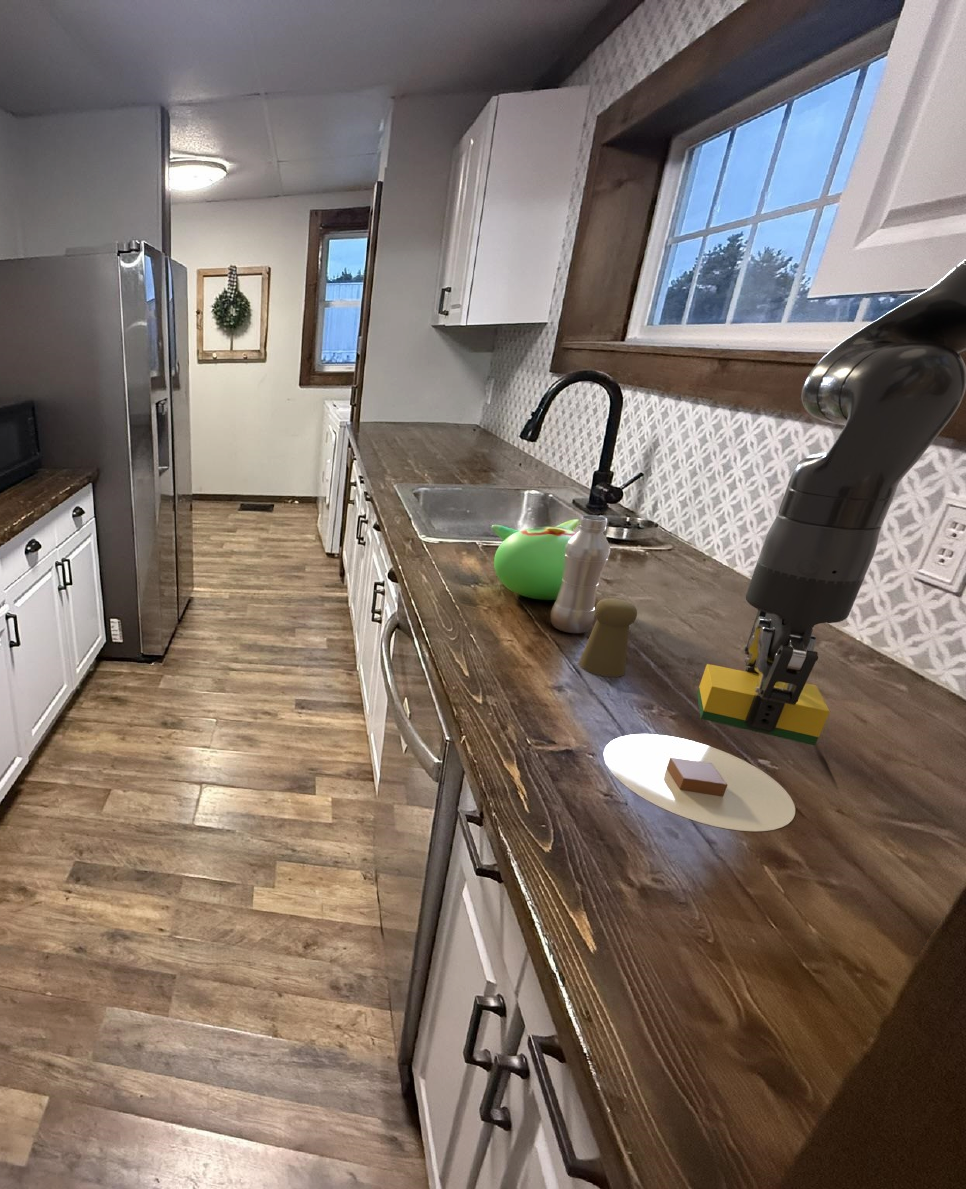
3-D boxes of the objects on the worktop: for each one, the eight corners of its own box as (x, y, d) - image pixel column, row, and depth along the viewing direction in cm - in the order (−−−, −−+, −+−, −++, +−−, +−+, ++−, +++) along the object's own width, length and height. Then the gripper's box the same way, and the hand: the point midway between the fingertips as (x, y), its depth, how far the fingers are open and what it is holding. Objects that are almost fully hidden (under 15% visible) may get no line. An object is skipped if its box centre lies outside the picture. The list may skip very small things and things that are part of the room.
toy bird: (502, 610, 118) (515, 534, 113) (478, 579, 134) (489, 511, 128) (607, 614, 115) (627, 537, 110) (571, 582, 131) (586, 513, 125)
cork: (588, 675, 95) (605, 608, 91) (572, 657, 100) (586, 593, 96) (633, 678, 94) (651, 610, 90) (613, 659, 99) (630, 594, 95)
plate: (799, 764, 74) (802, 757, 74) (853, 892, 57) (857, 883, 57) (581, 712, 86) (583, 705, 85) (572, 806, 69) (574, 799, 68)
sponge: (803, 718, 67) (816, 685, 66) (815, 746, 63) (830, 711, 61) (696, 694, 72) (706, 663, 71) (700, 719, 67) (711, 686, 66)
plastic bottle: (542, 630, 110) (565, 518, 102) (554, 618, 114) (577, 510, 107) (584, 641, 105) (612, 525, 98) (595, 628, 110) (622, 517, 102)
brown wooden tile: (707, 774, 72) (711, 762, 71) (723, 797, 68) (728, 784, 68) (666, 768, 73) (669, 756, 72) (679, 790, 69) (683, 778, 69)
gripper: (888, 596, 53) (816, 760, 60) (845, 551, 64) (788, 694, 71) (771, 580, 57) (715, 735, 64) (749, 540, 68) (703, 676, 75)
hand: (753, 713), depth 67 cm, fingers closed on sponge, 6 cm apart
